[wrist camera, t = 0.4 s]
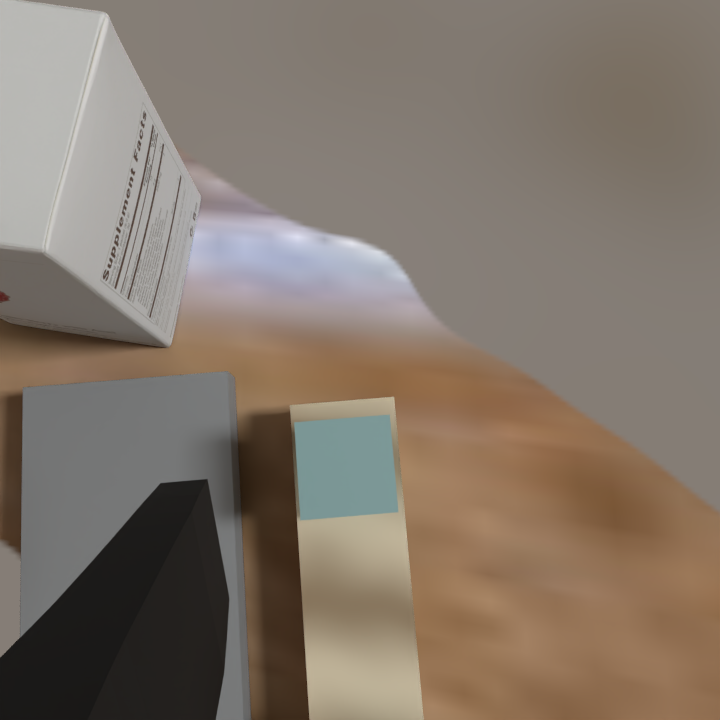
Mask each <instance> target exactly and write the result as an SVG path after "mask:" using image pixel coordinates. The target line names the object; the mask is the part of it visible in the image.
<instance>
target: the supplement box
mask: <svg viewBox="0 0 720 720" xmlns="http://www.w3.org/2000/svg"><path fill="white" fill-rule="evenodd" d="M200 202H201V195H200V194H199V192H198V190H197V188H196V186H195V185H194V183H193V181H192V179H191V177H190V175H189V173H188V171H187V169H186V167H185V165H184V163H183V161H182V159H181V158H180V156H179V154H178V152H177V150H176V148H175V146H174V144H173V142H172V140H171V139H170V137H169V135H168V133H167V131H166V129H165V127H164V125H163V123H162V121H161V119H160V117H159V115H158V113H157V111H156V109H155V108H154V106H153V104H152V102H151V100H150V99H149V96H148V94H147V92H146V90H145V88H144V86H143V84H142V82H141V81H140V79H139V77H138V75H137V73H136V71H135V69H134V67H133V65H132V63H131V62H130V60H129V58H128V56H127V54H126V52H125V50H124V48H123V46H122V44H121V42H120V40H119V38H118V36H117V34H116V32H115V30H114V27H113V25H112V23H111V20H110V18H109V16H108V14H106V13H104V12H101V11H94V10H87V9H79V8H72V7H65V6H58V5H51V4H43V3H37V2H30V1H22V0H0V318H1V319H3V320H5V321H7V322H9V323H12V324H17V325H23V326H29V327H35V328H41V329H47V330H54V331H60V332H67V333H73V334H80V335H86V336H93V337H99V338H105V339H112V340H118V341H125V342H132V343H138V344H145V345H152V346H159V347H169V346H170V345H171V344H172V339H173V335H174V330H175V325H176V320H177V315H178V310H179V306H180V301H181V296H182V291H183V286H184V281H185V276H186V271H187V266H188V261H189V256H190V251H191V247H192V242H193V237H194V232H195V227H196V222H197V217H198V213H199V208H200Z"/></svg>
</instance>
